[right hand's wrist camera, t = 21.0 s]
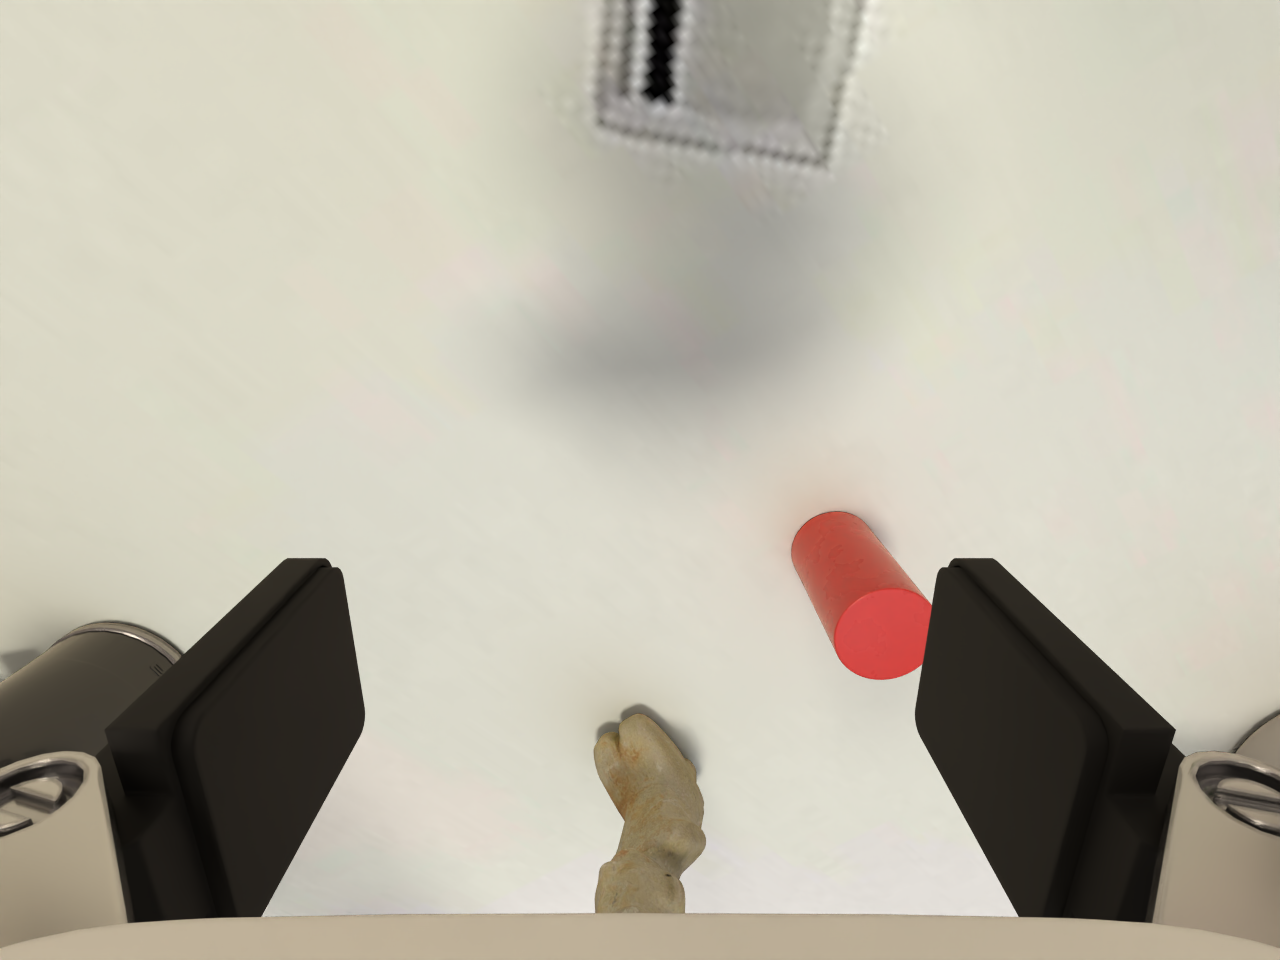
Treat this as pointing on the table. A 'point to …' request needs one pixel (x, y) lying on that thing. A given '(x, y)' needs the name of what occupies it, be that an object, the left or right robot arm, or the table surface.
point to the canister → (861, 596)
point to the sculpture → (648, 819)
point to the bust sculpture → (1264, 743)
